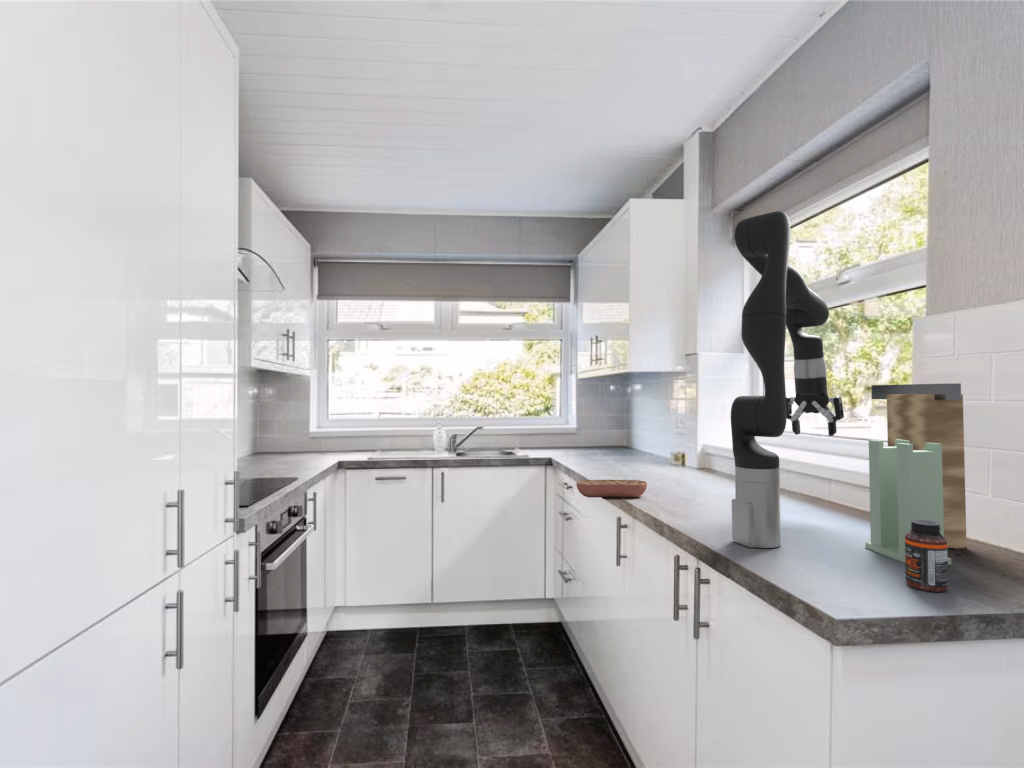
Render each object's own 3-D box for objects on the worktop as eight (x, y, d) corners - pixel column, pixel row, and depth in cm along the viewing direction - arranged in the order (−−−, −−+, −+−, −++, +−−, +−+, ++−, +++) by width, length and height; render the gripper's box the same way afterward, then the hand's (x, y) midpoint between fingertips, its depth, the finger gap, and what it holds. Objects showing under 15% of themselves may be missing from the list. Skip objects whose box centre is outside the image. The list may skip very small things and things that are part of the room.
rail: (871, 399, 140) (871, 385, 140) (884, 399, 140) (884, 385, 140) (945, 400, 118) (945, 383, 118) (961, 399, 118) (960, 383, 118)
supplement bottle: (897, 582, 99) (895, 518, 99) (928, 580, 100) (926, 517, 100) (924, 594, 93) (923, 526, 94) (957, 592, 94) (956, 525, 94)
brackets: (865, 547, 121) (863, 439, 121) (900, 546, 121) (898, 439, 122) (912, 566, 108) (909, 445, 108) (951, 564, 109) (948, 444, 109)
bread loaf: (577, 499, 179) (577, 484, 179) (575, 494, 189) (575, 479, 189) (649, 500, 178) (649, 484, 178) (644, 494, 188) (643, 479, 188)
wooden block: (889, 535, 131) (886, 394, 132) (921, 534, 132) (918, 394, 132) (931, 549, 119) (927, 394, 120) (966, 548, 120) (962, 394, 120)
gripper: (777, 377, 152) (781, 436, 153) (834, 376, 141) (839, 439, 142) (787, 374, 157) (792, 431, 158) (844, 372, 146) (848, 433, 147)
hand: (814, 434), depth 150 cm, fingers open, 8 cm apart
